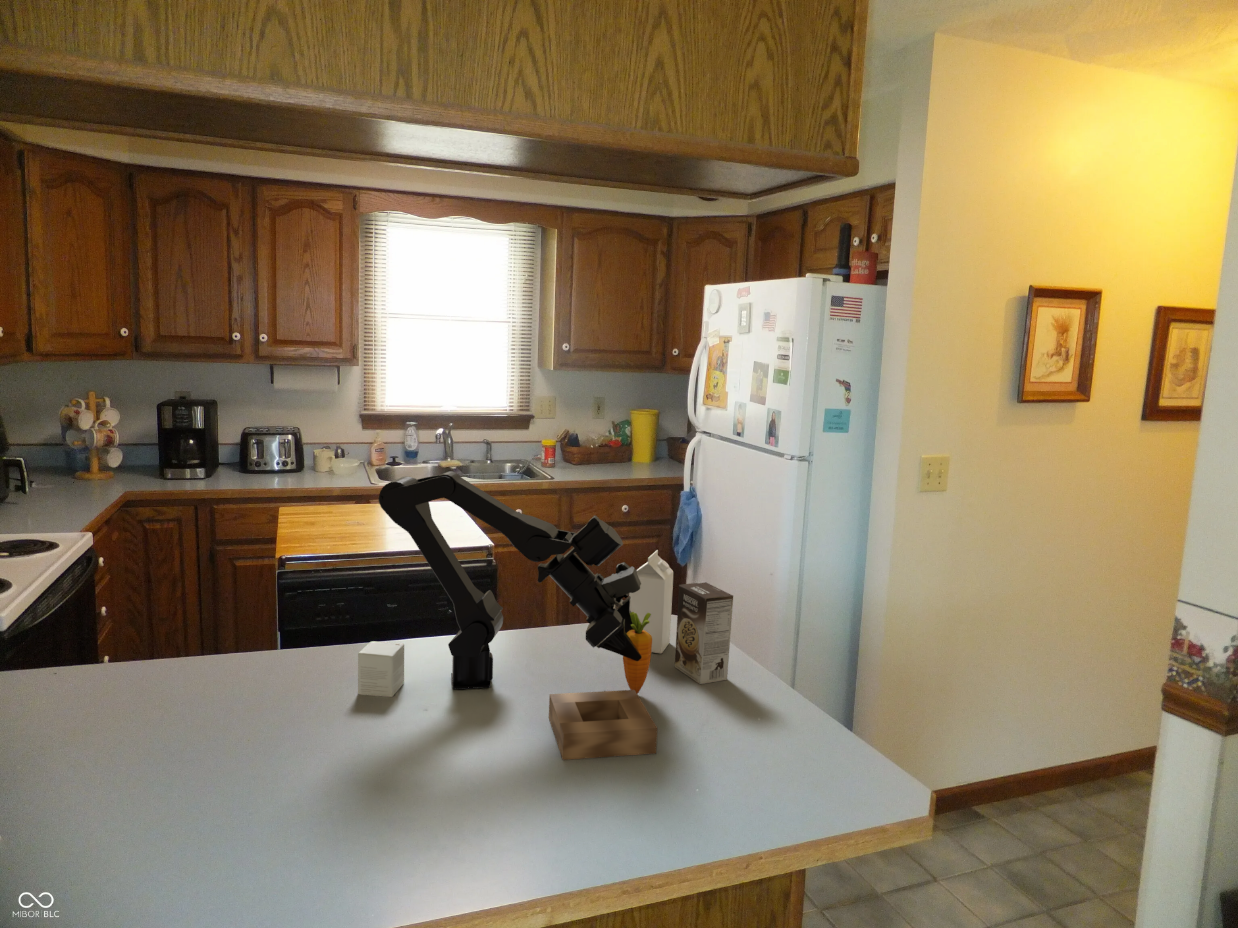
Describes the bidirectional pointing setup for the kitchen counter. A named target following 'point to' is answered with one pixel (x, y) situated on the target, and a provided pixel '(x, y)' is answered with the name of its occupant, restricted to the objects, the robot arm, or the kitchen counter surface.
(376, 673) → the product box
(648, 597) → the milk carton
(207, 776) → the kitchen counter surface
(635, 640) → the carrot
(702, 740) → the kitchen counter surface
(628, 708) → the walnut socket block
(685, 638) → the coffee box
